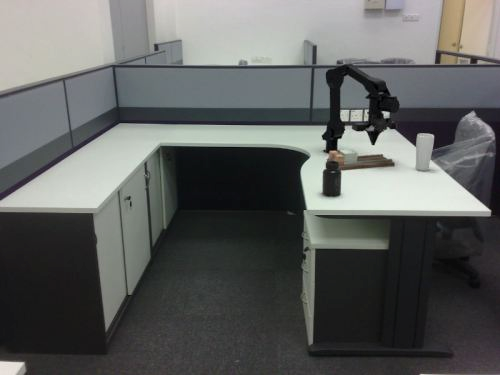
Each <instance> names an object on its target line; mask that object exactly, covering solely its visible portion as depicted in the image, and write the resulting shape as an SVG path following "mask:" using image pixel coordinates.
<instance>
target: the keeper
mask: <svg viewBox="0 0 500 375" xmlns="http://www.w3.org/2000/svg"><path fill="white" fill-rule="evenodd" d="M338 151H339V153H340V154H341V155H343V156H344V163H345V162H357V156H359V155H358V154H359V152H357V151H355V149H342V150H341V149H340V150H338Z"/></svg>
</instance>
